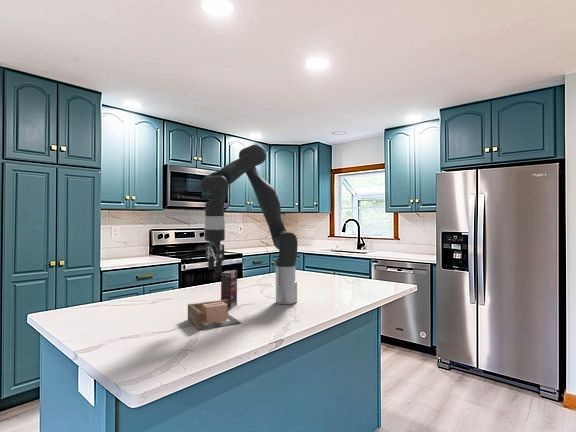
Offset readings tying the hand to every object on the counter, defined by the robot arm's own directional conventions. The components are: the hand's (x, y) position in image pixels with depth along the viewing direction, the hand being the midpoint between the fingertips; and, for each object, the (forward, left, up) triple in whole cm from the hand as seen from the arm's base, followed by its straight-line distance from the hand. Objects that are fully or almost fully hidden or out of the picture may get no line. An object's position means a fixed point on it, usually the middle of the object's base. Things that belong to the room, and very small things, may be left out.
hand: (214, 270), depth 136 cm
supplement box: (-13, -19, -20) cm, 30 cm away
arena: (0, -1, -20) cm, 20 cm away
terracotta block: (0, 0, -19) cm, 19 cm away
